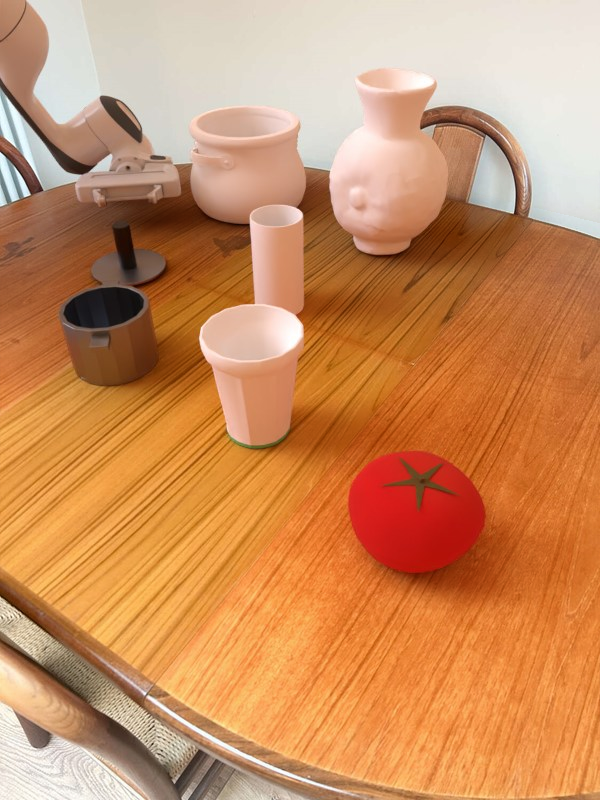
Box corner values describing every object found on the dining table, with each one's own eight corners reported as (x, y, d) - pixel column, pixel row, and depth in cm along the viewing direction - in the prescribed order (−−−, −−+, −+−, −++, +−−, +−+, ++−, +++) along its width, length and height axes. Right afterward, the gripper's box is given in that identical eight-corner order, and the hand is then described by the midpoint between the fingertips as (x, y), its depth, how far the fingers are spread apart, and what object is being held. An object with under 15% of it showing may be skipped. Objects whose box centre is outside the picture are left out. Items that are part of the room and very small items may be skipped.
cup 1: (274, 288, 115) (271, 200, 105) (313, 302, 111) (313, 212, 101) (245, 308, 110) (238, 218, 100) (284, 324, 106) (281, 232, 96)
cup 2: (294, 391, 93) (292, 297, 83) (314, 451, 83) (315, 354, 74) (206, 404, 91) (194, 309, 81) (217, 467, 81) (204, 369, 72)
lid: (88, 292, 115) (76, 244, 109) (96, 256, 125) (85, 211, 119) (165, 286, 116) (157, 238, 110) (167, 251, 126) (160, 206, 120)
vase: (412, 279, 117) (433, 101, 97) (309, 251, 125) (309, 82, 106) (452, 239, 129) (476, 73, 109) (355, 215, 137) (362, 58, 118)
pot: (260, 174, 156) (256, 95, 145) (332, 204, 142) (333, 120, 131) (168, 205, 143) (155, 121, 131) (237, 242, 129) (230, 152, 117)
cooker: (66, 401, 92) (49, 346, 85) (82, 331, 105) (68, 278, 99) (156, 393, 93) (145, 338, 87) (160, 324, 106) (151, 272, 100)
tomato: (324, 553, 71) (325, 488, 64) (377, 479, 80) (383, 414, 73) (448, 614, 65) (463, 549, 59) (491, 527, 74) (509, 461, 67)
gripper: (76, 162, 132) (66, 189, 121) (178, 156, 134) (178, 181, 123) (83, 192, 136) (74, 221, 125) (182, 186, 138) (182, 213, 127)
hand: (126, 201), depth 124 cm, fingers open, 8 cm apart
